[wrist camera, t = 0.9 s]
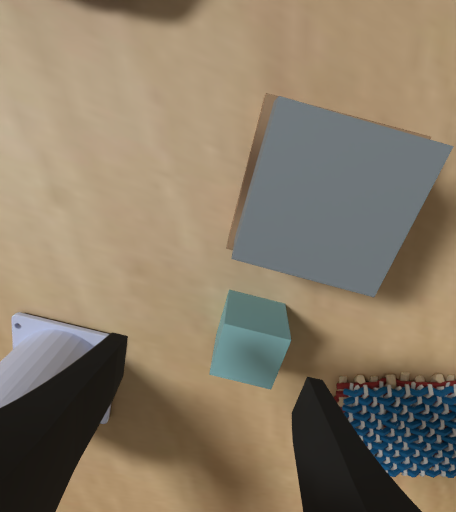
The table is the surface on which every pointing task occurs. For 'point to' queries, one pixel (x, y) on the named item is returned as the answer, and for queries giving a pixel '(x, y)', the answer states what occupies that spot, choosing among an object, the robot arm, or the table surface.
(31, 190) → the table surface
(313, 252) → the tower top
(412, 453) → the woven mat
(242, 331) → the teal cube
